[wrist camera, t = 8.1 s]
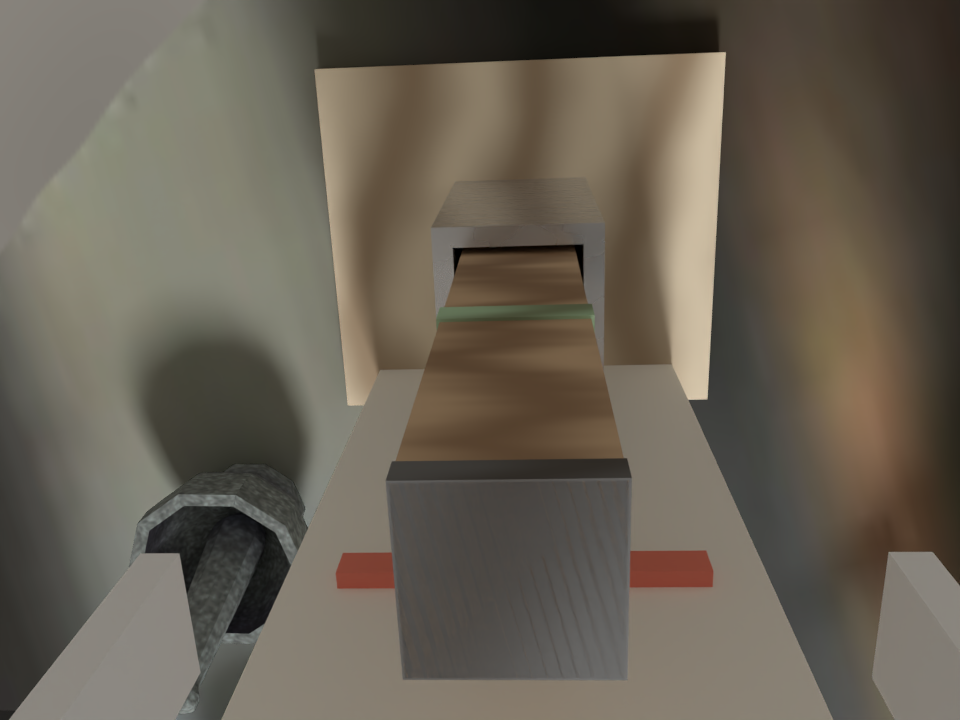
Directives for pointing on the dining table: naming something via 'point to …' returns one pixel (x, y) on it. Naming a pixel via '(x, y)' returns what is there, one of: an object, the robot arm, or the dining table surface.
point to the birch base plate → (526, 155)
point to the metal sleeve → (522, 229)
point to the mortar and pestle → (227, 551)
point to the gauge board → (539, 703)
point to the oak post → (512, 484)
